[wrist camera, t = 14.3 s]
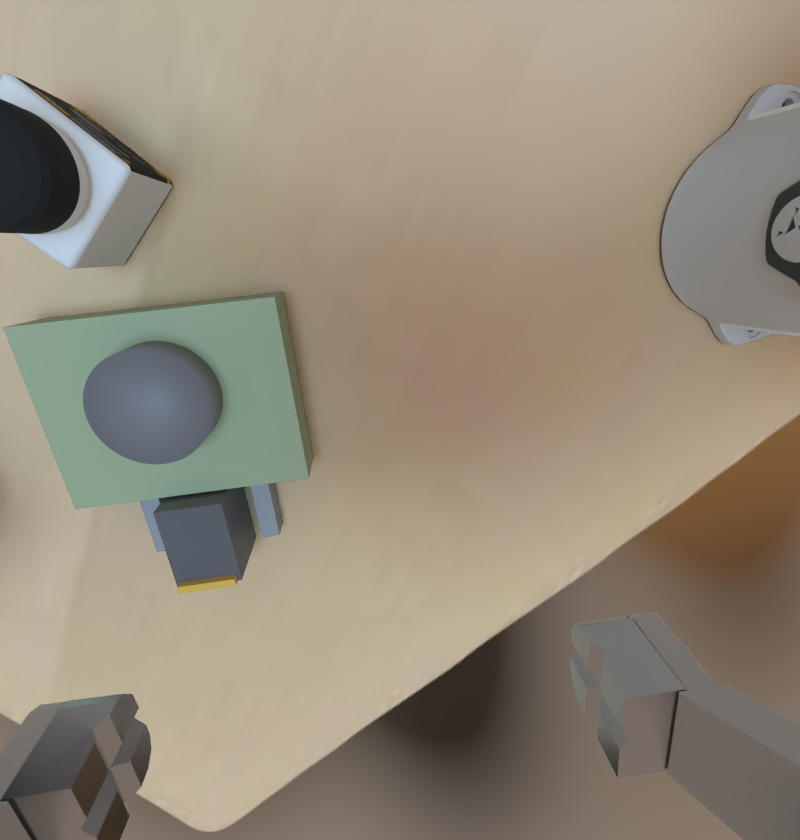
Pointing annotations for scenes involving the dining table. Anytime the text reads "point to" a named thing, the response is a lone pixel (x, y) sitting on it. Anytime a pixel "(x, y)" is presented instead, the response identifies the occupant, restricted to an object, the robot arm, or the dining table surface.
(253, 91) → the dining table surface
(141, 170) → the medicine bottle
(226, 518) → the grey block yellow strip
